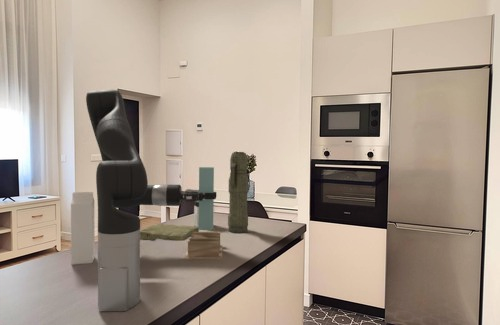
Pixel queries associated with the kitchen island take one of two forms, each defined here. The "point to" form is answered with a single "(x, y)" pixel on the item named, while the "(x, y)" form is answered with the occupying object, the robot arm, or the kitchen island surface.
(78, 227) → the milk
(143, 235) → the decorative tile
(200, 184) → the teal board
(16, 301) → the kitchen island surface
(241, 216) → the thermos
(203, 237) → the walnut offcut
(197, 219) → the jar
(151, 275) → the kitchen island surface
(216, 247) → the beech rack
